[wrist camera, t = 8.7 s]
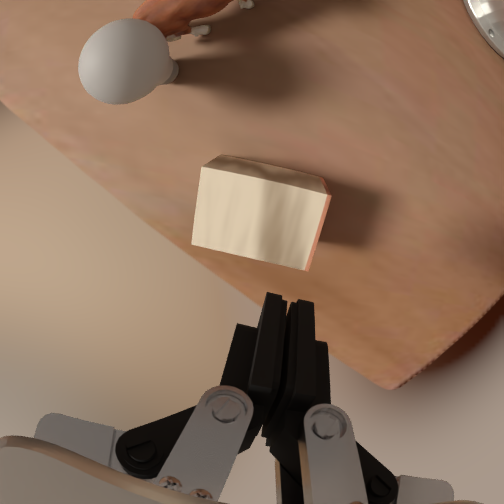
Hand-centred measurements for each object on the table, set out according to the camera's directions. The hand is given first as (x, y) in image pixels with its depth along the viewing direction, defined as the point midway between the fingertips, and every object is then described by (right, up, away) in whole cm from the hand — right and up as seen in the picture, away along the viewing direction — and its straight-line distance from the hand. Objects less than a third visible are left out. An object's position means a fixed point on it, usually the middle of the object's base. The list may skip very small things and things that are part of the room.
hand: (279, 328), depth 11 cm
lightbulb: (-8, +19, +12) cm, 23 cm away
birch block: (+4, +5, +13) cm, 15 cm away
